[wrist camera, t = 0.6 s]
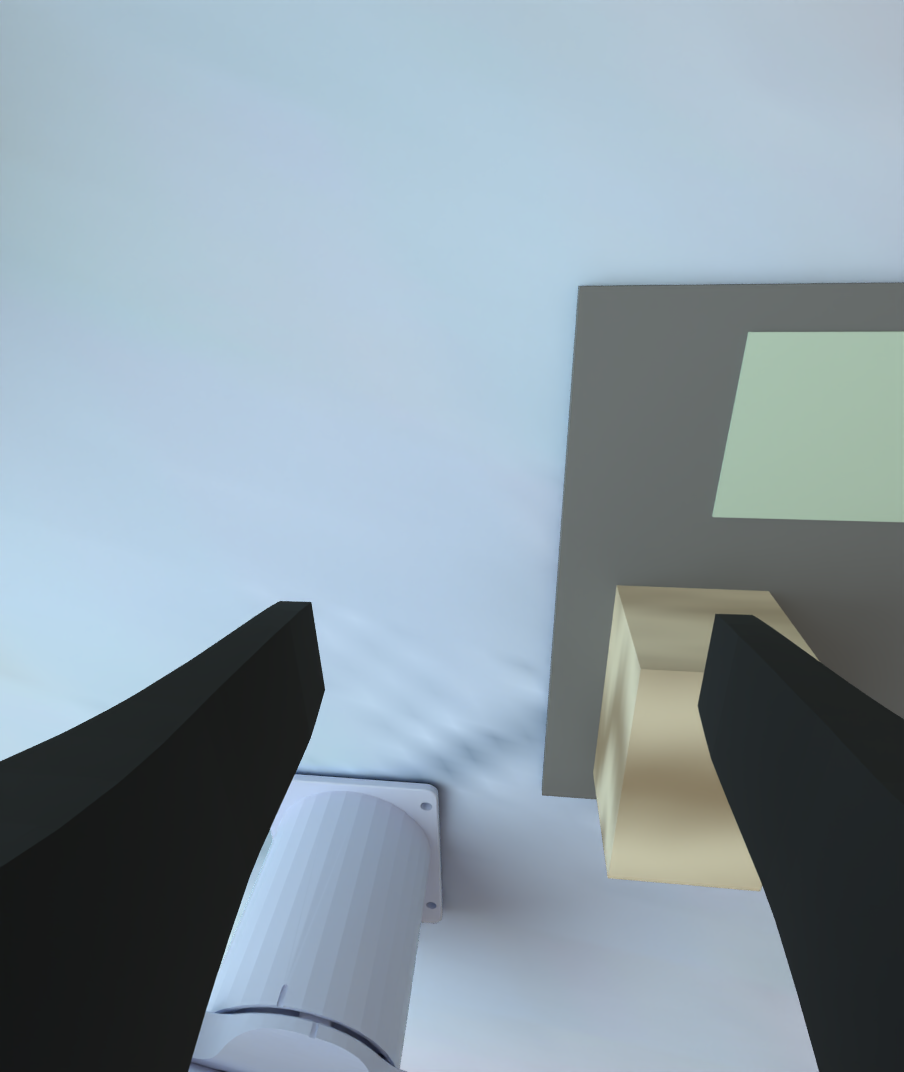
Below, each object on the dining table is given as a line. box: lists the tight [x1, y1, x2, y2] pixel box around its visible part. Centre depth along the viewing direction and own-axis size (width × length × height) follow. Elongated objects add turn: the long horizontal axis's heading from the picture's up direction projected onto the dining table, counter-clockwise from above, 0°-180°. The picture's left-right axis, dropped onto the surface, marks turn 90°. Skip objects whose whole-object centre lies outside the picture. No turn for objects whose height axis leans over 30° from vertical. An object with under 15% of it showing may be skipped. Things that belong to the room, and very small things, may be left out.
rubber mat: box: [542, 283, 904, 799], centre depth 20 cm, size 20×16×1 cm
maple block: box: [593, 585, 820, 891], centre depth 20 cm, size 9×5×4 cm, turn 1°
